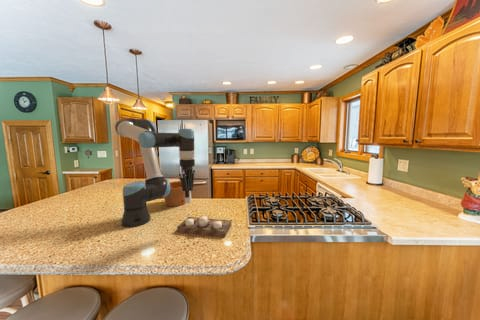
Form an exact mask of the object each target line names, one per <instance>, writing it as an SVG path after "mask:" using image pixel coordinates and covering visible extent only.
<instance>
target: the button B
mask: <svg viewBox="0 0 480 320" xmlns="http://www.w3.org/2000/svg"><path fill="white" fill-rule="evenodd" d="M198 218H199V226H200V227H206V226H207V225H208V220H207V218H208V216H205V215H203V216H200V217H198Z"/></svg>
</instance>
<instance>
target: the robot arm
mask: <svg viewBox="0 0 480 320" xmlns="http://www.w3.org/2000/svg"><path fill="white" fill-rule="evenodd" d="M157 129H158V128H157V125H156V123H155V122H154V121H153V120H151V119H146V118H133V117H131V118H130V117H125V118H121V119H119V120H118V121H116V123H115V125H114V130H115V132H116V134H117V135H119V136H121V137H124V138H129V139H131V140H134V141H136V142H137V143H138V144H139V149H140V153H141V158H142V162H143V166H144V171H145V176H146V178H145V179H144V180H138V181H137V180H136V181H132V182H129V183H127V184H125V185H124V186H123V187H122V197H123V198H122V199H123V200H122V201H123V214H122V219H121V221H120V223H121V226H122V227H125V228H133V227H138V226H142V225H145V224H148V222H150V221H151V214H150V212H149V210H148V208H147V202H151V201H155V200H158V199H159V200H160V199H163V198H164V197H166V196H167V195H168V194H169V192H170V183H169V182H170V181H169V180H168V179H167V178H165V176H164V175H163V174H162V173H161V169H160V165H159V160H158V156H157V152H156V148H178V151H179V166H180V167H181V173H179V174H178V176H179V179H180V181H181V184H182V190H183V191H185V204H191V203H192V191H194V183H195V172H196V170H195V169H194V168H193V167H195V165H196V164H195V163H196V161H195V155H196V153H195V132H194V129H193V128H179V130H178V132H157V131H158V130H157Z"/></svg>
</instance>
